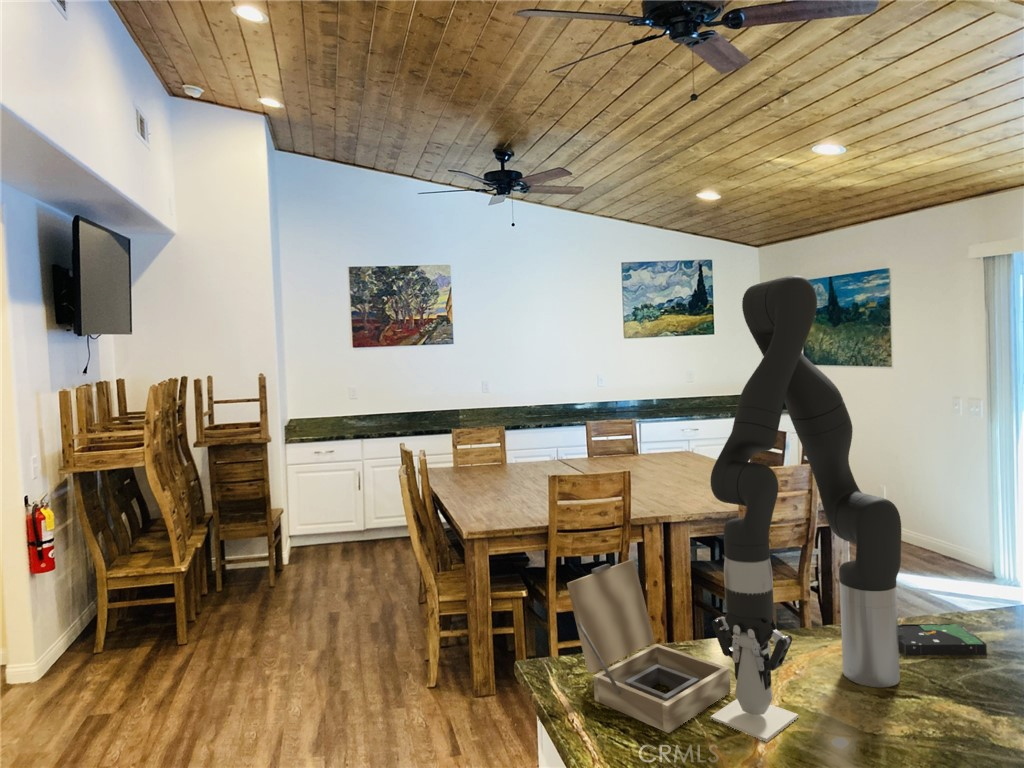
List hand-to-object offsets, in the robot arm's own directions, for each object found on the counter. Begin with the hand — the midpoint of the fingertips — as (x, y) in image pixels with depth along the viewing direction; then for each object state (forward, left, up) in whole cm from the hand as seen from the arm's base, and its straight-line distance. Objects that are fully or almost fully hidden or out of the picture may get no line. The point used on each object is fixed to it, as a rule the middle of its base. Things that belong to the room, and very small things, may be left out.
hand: (753, 686), depth 116 cm
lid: (+4, -26, +8) cm, 27 cm away
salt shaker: (0, 0, -4) cm, 4 cm away
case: (+5, -17, -5) cm, 18 cm away
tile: (0, 0, -5) cm, 5 cm away
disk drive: (-48, +11, -6) cm, 50 cm away
